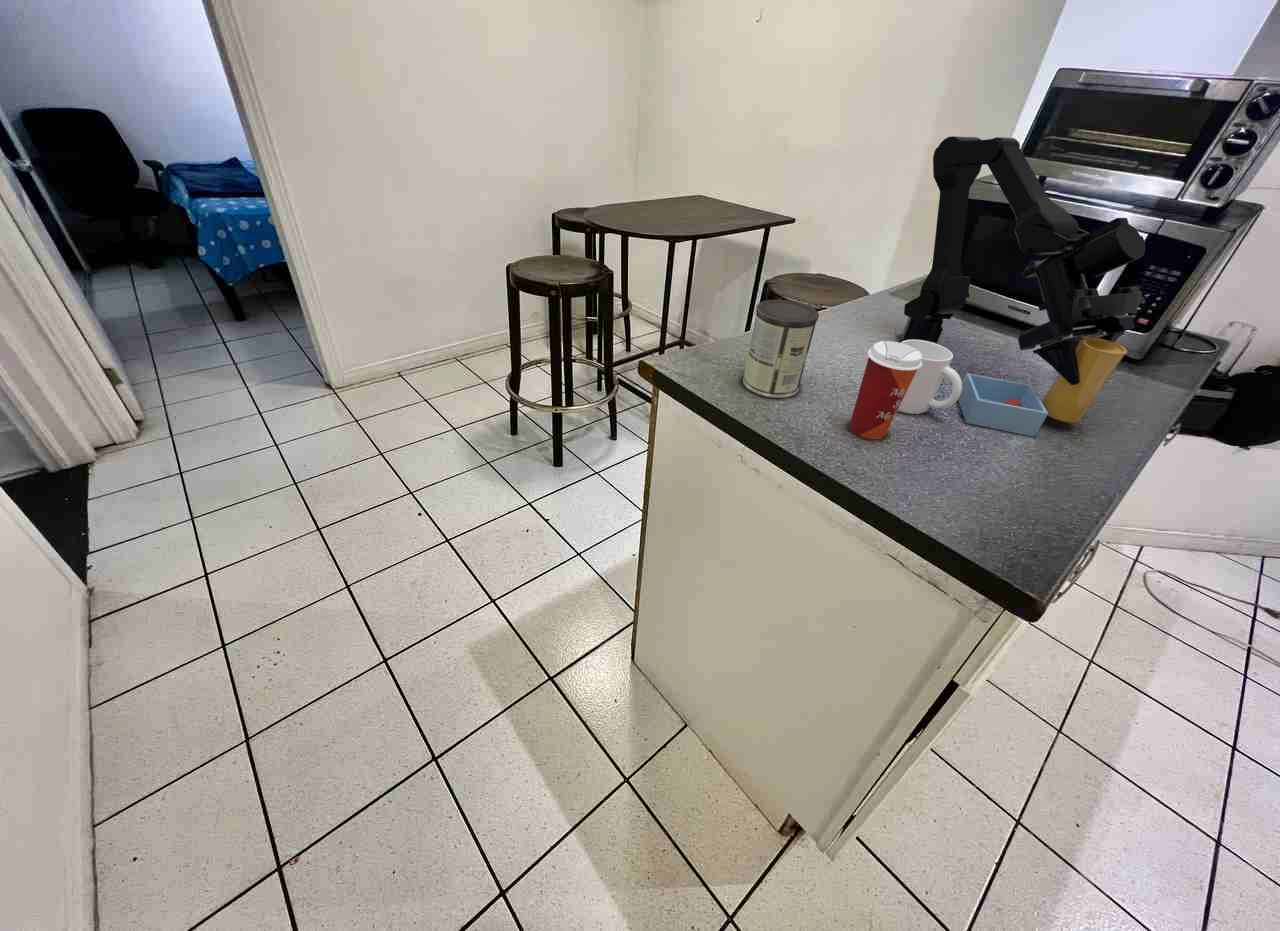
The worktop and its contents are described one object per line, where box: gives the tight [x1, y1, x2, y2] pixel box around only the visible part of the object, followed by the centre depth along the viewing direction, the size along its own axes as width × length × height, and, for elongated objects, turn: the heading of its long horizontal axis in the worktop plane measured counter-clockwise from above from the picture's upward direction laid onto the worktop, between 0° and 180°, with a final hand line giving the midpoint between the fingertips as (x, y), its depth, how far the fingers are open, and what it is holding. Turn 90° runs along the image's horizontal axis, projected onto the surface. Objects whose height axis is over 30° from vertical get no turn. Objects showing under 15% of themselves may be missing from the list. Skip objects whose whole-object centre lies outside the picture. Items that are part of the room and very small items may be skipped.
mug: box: [897, 340, 963, 415], centre depth 89 cm, size 12×8×10 cm
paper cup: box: [849, 340, 922, 440], centre depth 81 cm, size 8×8×14 cm
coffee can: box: [742, 299, 820, 399], centre depth 92 cm, size 10×10×14 cm
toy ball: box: [1003, 399, 1022, 407], centre depth 90 cm, size 3×3×3 cm
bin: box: [957, 373, 1048, 437], centre depth 91 cm, size 10×10×4 cm
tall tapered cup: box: [1041, 337, 1128, 423], centre depth 86 cm, size 6×6×12 cm
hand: (1089, 382), depth 85 cm, fingers closed on tall tapered cup, 6 cm apart
